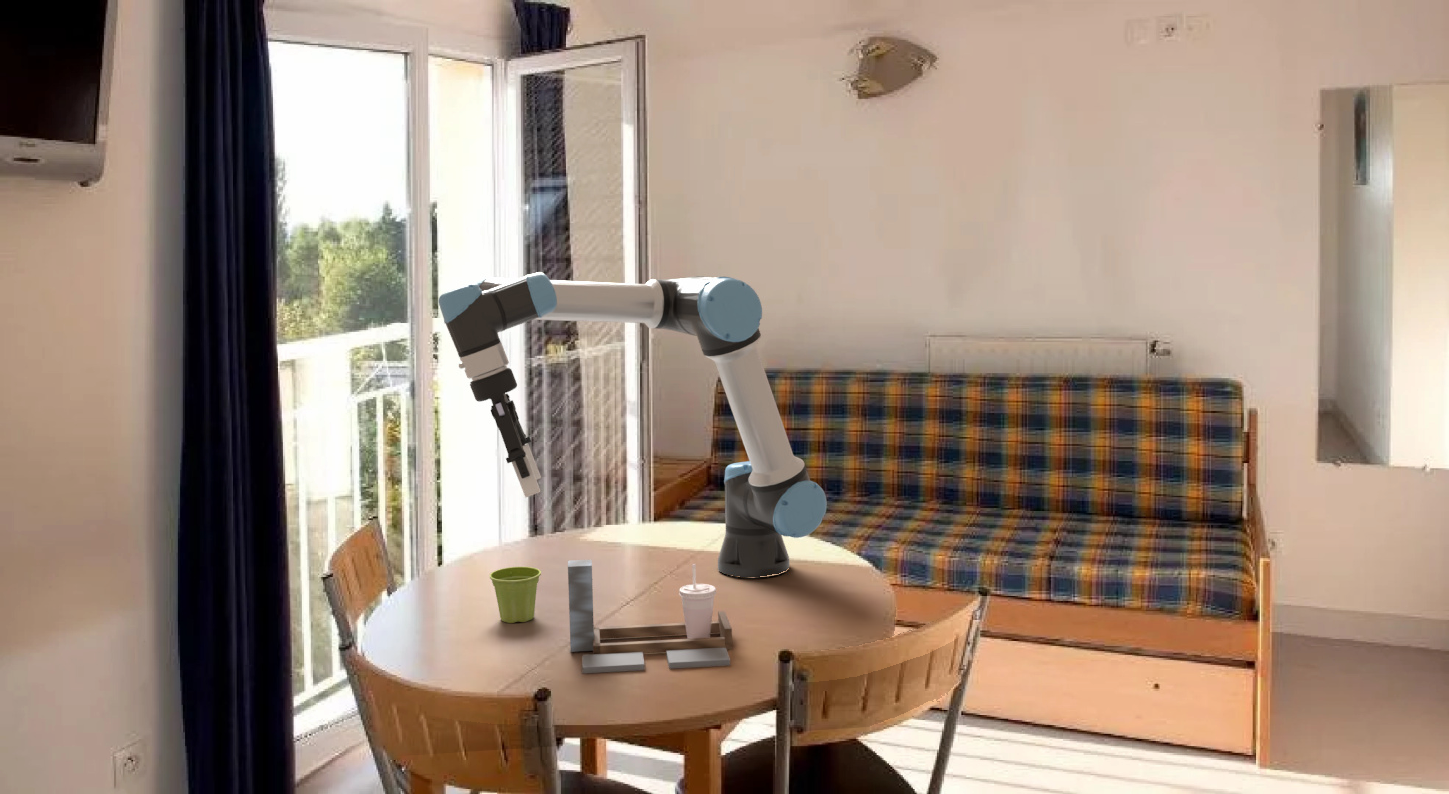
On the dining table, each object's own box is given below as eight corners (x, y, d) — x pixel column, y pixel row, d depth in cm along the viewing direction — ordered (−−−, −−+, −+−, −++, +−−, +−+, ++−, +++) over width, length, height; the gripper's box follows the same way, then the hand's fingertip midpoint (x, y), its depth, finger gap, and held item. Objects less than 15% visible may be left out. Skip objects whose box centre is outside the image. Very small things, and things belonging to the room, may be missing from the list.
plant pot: (519, 629, 220) (517, 583, 219) (480, 621, 225) (478, 576, 224) (553, 615, 228) (551, 570, 227) (514, 608, 233) (513, 564, 232)
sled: (725, 630, 217) (723, 549, 215) (732, 649, 207) (730, 564, 206) (570, 638, 214) (568, 556, 212) (570, 657, 204) (567, 571, 202)
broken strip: (725, 653, 206) (725, 647, 206) (730, 665, 200) (729, 659, 200) (582, 660, 204) (582, 655, 204) (582, 673, 198) (582, 667, 198)
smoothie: (679, 637, 215) (677, 560, 213) (715, 636, 215) (714, 558, 213) (681, 649, 208) (679, 569, 207) (718, 648, 209) (717, 568, 207)
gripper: (472, 374, 222) (515, 482, 225) (463, 388, 197) (511, 508, 201) (512, 360, 223) (553, 467, 226) (507, 372, 198) (554, 492, 201)
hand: (533, 487), depth 213 cm, fingers open, 13 cm apart
